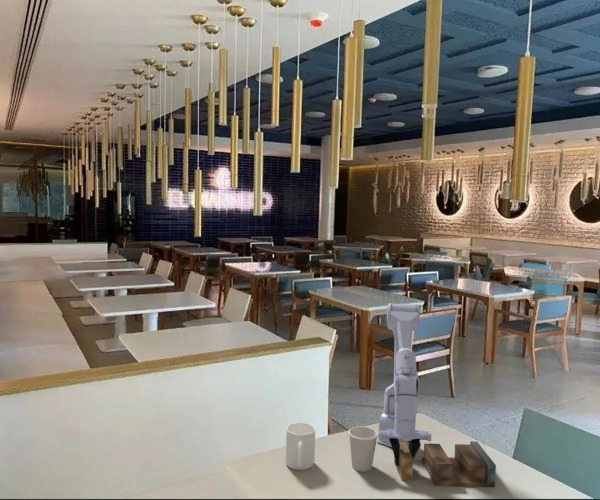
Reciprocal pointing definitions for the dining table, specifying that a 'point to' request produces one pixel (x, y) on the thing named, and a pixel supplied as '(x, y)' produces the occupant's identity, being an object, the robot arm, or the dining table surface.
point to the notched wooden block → (459, 466)
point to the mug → (300, 446)
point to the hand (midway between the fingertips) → (403, 464)
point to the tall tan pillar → (405, 463)
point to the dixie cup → (362, 447)
